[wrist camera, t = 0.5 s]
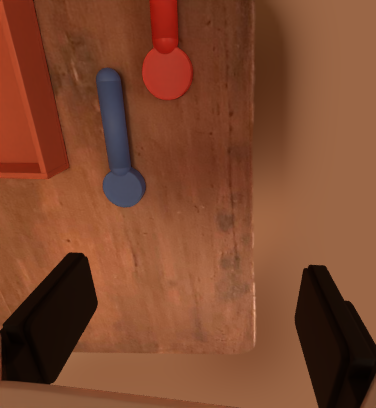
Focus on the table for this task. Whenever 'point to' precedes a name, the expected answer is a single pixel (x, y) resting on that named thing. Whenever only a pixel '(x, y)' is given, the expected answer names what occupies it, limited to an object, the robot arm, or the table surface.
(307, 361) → the robot arm
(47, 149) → the red bin
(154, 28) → the red spoon
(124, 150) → the blue spoon
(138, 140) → the table surface
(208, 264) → the table surface
